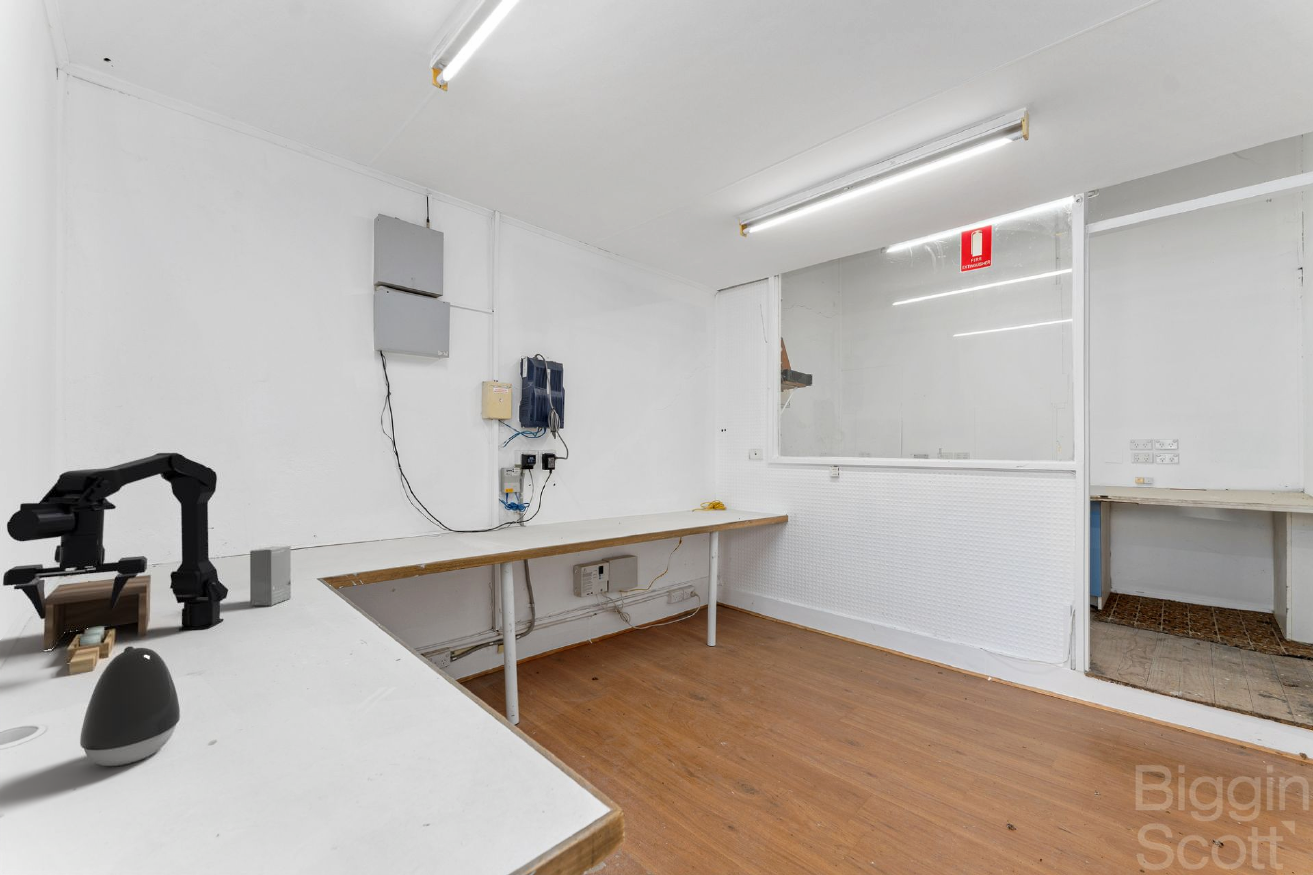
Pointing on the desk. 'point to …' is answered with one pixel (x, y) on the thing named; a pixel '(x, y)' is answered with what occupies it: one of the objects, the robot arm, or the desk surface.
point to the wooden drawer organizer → (95, 607)
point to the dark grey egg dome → (130, 709)
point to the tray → (89, 649)
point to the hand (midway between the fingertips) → (78, 614)
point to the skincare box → (270, 575)
